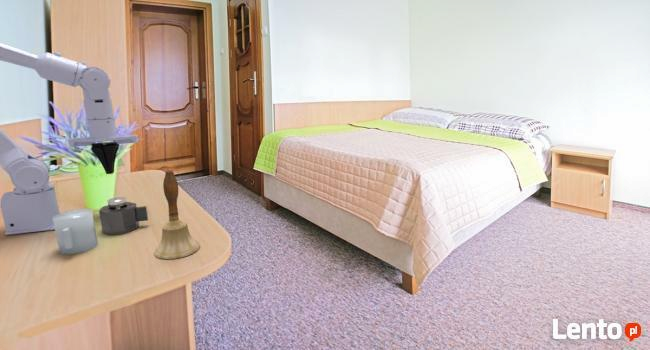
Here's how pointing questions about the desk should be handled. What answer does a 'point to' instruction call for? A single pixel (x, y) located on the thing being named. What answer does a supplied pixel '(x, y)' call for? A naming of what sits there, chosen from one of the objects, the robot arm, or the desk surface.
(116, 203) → the grey flared round piece
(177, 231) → the hand bell
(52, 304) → the desk surface
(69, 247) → the white dome with tab
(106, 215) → the grey octagonal pot
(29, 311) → the desk surface
